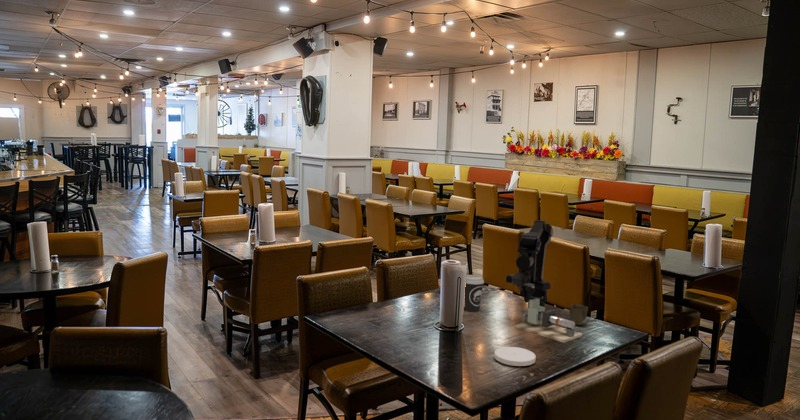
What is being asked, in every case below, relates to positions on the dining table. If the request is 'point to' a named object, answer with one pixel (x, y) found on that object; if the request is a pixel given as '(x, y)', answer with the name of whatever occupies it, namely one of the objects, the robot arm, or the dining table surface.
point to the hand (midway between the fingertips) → (526, 302)
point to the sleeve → (534, 311)
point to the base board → (548, 331)
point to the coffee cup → (473, 293)
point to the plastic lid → (514, 356)
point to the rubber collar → (545, 317)
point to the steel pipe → (555, 322)
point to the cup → (578, 313)
